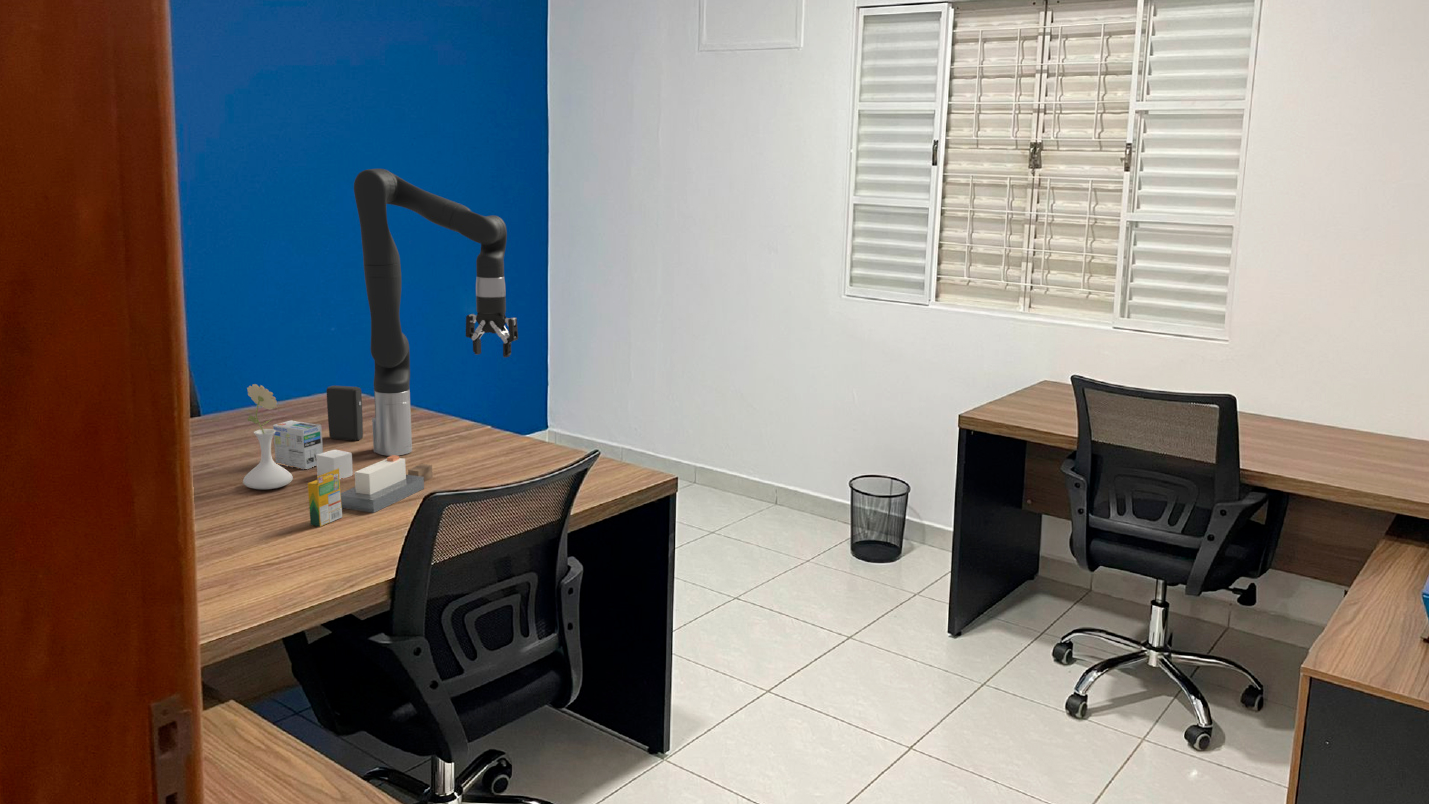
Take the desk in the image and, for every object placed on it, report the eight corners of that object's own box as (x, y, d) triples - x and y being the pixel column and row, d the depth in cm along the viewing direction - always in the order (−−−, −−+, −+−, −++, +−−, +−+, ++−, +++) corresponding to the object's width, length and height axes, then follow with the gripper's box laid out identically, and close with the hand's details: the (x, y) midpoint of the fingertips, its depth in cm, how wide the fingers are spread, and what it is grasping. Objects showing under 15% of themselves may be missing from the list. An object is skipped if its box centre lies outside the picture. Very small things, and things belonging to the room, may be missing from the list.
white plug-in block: (370, 506, 265) (369, 470, 263) (356, 504, 267) (354, 468, 265) (406, 489, 278) (405, 455, 276) (392, 487, 279) (391, 453, 278)
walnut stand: (418, 483, 284) (418, 471, 283) (408, 482, 285) (407, 469, 284) (432, 477, 289) (432, 465, 289) (422, 475, 290) (421, 463, 290)
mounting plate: (373, 512, 262) (373, 500, 261) (337, 507, 265) (336, 494, 264) (424, 488, 280) (423, 476, 279) (389, 483, 283) (388, 472, 282)
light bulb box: (324, 464, 299) (322, 424, 296) (305, 470, 293) (303, 429, 290) (293, 458, 303) (291, 419, 301) (274, 465, 297) (271, 424, 295)
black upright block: (365, 438, 324) (363, 386, 321) (358, 441, 321) (356, 389, 317) (335, 436, 326) (332, 384, 323) (328, 439, 322) (325, 387, 319)
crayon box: (332, 515, 259) (329, 466, 256) (342, 517, 258) (340, 468, 255) (309, 525, 252) (306, 474, 250) (320, 527, 251) (317, 476, 249)
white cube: (334, 481, 284) (333, 458, 283) (317, 477, 287) (316, 454, 286) (353, 475, 290) (351, 452, 288) (335, 471, 292) (334, 449, 291)
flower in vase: (301, 487, 279) (295, 386, 274) (255, 496, 271) (248, 393, 266) (277, 475, 288) (271, 378, 282) (232, 484, 280) (224, 384, 275)
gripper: (459, 293, 296) (460, 355, 299) (507, 297, 291) (508, 360, 295) (474, 290, 303) (476, 351, 306) (522, 294, 298) (523, 355, 302)
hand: (492, 355), depth 300 cm, fingers open, 8 cm apart
